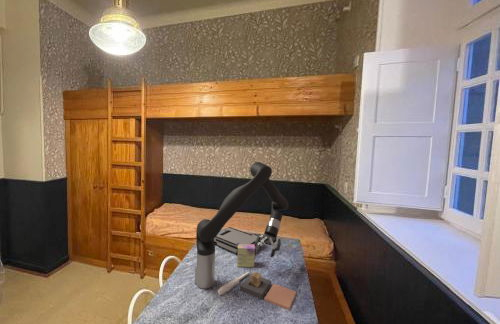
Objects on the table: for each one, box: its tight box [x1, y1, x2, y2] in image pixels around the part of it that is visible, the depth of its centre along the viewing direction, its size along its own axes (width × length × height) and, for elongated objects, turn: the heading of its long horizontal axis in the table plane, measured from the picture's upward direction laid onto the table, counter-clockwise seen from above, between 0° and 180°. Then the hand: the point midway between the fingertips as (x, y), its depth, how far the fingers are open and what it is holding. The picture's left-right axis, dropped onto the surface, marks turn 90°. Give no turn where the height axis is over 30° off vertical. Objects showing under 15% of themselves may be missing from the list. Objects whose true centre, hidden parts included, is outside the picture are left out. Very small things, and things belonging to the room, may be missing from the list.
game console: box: [214, 226, 263, 256], centre depth 152 cm, size 21×32×8 cm, turn 54°
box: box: [236, 244, 256, 268], centre depth 128 cm, size 10×6×12 cm, turn 92°
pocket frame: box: [239, 273, 272, 300], centre depth 108 cm, size 12×12×2 cm
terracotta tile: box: [263, 283, 297, 311], centre depth 102 cm, size 12×12×1 cm
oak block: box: [251, 271, 262, 288], centre depth 108 cm, size 4×4×7 cm
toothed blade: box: [217, 271, 250, 296], centre depth 110 cm, size 3×4×22 cm
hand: (264, 254), depth 116 cm, fingers open, 8 cm apart
